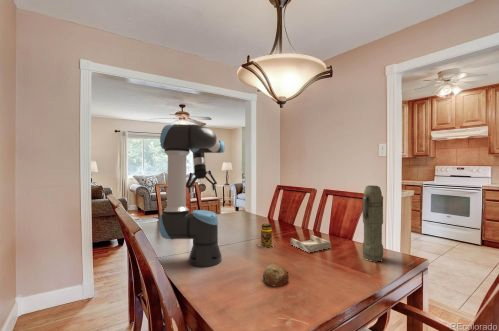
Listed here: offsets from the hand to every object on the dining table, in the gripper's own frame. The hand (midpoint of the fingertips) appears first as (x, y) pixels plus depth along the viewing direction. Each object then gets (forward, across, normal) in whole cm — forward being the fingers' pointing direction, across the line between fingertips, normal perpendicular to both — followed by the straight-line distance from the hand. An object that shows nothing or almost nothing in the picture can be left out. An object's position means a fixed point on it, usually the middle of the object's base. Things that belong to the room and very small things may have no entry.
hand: (202, 196), depth 168 cm
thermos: (+43, -85, +38) cm, 103 cm away
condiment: (+33, -36, +18) cm, 52 cm away
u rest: (+36, -60, +21) cm, 73 cm away
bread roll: (+42, -36, +60) cm, 82 cm away
